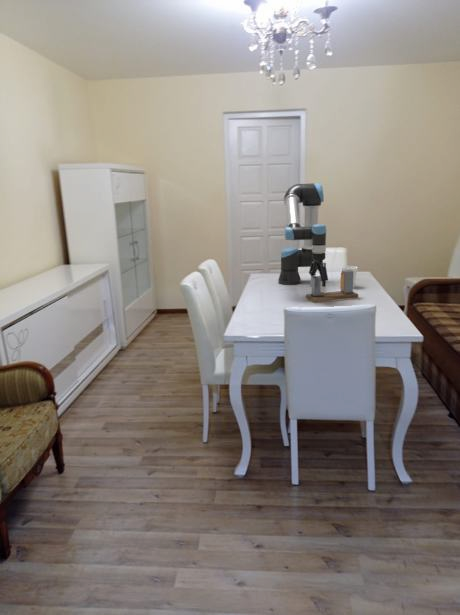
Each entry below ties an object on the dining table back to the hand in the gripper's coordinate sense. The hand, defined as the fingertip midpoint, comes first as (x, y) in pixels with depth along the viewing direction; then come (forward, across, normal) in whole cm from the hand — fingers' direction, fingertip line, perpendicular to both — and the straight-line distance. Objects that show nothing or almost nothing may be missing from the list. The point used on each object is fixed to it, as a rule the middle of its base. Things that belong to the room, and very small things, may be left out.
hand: (317, 289), depth 248 cm
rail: (+6, 0, +9) cm, 11 cm away
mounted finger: (+4, 0, +18) cm, 18 cm away
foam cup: (+7, -21, +31) cm, 38 cm away
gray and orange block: (+6, 0, 0) cm, 6 cm away
